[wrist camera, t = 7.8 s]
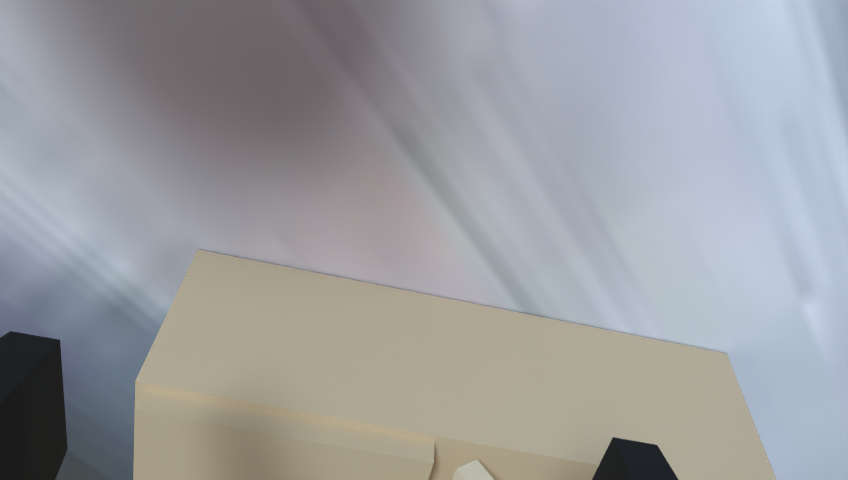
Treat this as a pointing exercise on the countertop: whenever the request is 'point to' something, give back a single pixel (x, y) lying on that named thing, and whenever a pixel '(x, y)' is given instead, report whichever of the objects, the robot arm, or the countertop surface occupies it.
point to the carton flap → (472, 472)
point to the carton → (414, 387)
